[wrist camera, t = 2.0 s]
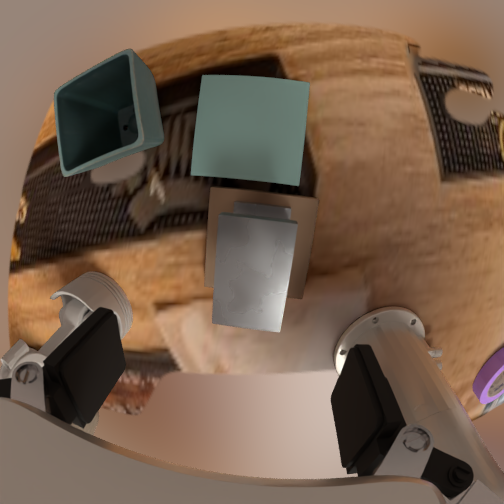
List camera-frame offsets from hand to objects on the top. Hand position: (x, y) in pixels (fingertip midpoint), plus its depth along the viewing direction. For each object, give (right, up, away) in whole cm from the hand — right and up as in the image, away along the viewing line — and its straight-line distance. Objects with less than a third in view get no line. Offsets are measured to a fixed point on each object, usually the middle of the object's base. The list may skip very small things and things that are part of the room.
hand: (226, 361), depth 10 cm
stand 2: (+2, +5, +18) cm, 19 cm away
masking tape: (+47, -18, +22) cm, 55 cm away
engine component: (-19, -4, +23) cm, 30 cm away
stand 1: (+1, +16, +15) cm, 22 cm away
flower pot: (-11, +18, +15) cm, 26 cm away
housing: (+2, +5, +16) cm, 17 cm away
